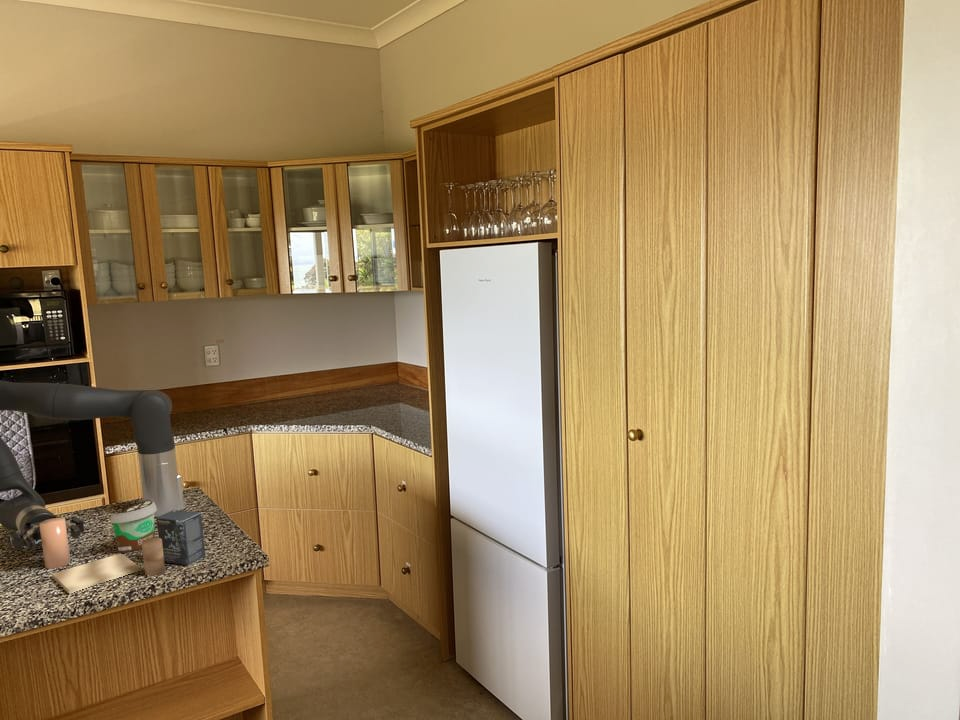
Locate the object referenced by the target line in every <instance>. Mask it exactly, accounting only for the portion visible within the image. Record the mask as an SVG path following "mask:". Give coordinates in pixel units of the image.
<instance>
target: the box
mask: <svg viewBox="0 0 960 720" xmlns="http://www.w3.org/2000/svg"><path fill="white" fill-rule="evenodd" d="M202 520H203V517H202V512H198V511H188V510H175V509H174V510H172V511H170V512H168V513H165V514H163V515H161V516H159V517H156V525H157V533H158V534H157V535H158V538H161V539H162V545H163V554H164V563H170V564H175V565H177V564H178V565H181V566H182V565H184V566H188V567H189V566H191V565H192V564H194V563H196V562H198V561H200V560H202V559H203V558H205V557H206V549H205V540H204V539H205V538H204V529H203V528H204V526H203V521H202Z"/></svg>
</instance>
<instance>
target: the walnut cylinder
mask: <svg viewBox="0 0 960 720" xmlns="http://www.w3.org/2000/svg"><path fill="white" fill-rule="evenodd" d="M141 551H142V559H143V560H142V561H143V566H144V575H145V576H146V575H149V576H148V577H156V576H159V575H162V574H164V573H165V572H166V565H165V563H166V562H164V554H163V545H162V539H161V538H159V537H155V538H151V539H147V540H145V541H143V542H142V550H141ZM155 575H156V576H155Z"/></svg>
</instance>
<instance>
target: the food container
mask: <svg viewBox="0 0 960 720" xmlns="http://www.w3.org/2000/svg"><path fill="white" fill-rule="evenodd" d="M156 510H157V508H156V505H155V503H154V502H153V500H152V499H149V498H143V497H142V502H140V503H138V504H136V505H133V506H129V507H127V508H126V509H125V510H123V511H122V512H121V513H111V514H110V524H112V526H113V530H114V531H113V532H114V536H115V541H116V546H117V551H118V554H119V553H126V554H128V553H127V552H133V553H135V552H134V551H138V552H140V551H139V550H141V551H142V542H143V541H145V540H147V539H151V538H156V537H155V536H156V535H155V517H154V512H156Z"/></svg>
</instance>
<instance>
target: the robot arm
mask: <svg viewBox="0 0 960 720" xmlns="http://www.w3.org/2000/svg"><path fill="white" fill-rule="evenodd" d="M172 410H173V403H172V399H171V397H170V396H169V395H167V394H166V393H165V392H163V391H161V390H158V389H142V390H141V389H137V390H135V389H133V390H132V389H130V390H126V389H124V390H122V389H121V390H120V389H110V388H103V387H98V386H89V385H81V384H72V383H70V384H69V383H68V384H67V383H53V382H52V383H51V382H11V381H5V380H4V381H3V380H0V411H10V412H11V411H12V412H20V413H24V414H28V415H32V416H36V417H40V418H46V419H50V420H51V419H52V420H64V421H65V420H66V421H80V420H82V421H84V420H95V419H105V418H127V419H131V423H132V431H133V438H134V442H135V445H136V450H137V459H138V466H139V467H138V468H139V475H140V483H141V492H142V499H143V498H149V499H152V500H153V502H154V503H155V505H156V508H157V510H156V512H154V518H157V517H159V516H161V515H163V514H165V513H168V512H170V511H172V510H174V509H175V510H180V511H183V510H185V502H184V492H183V482H182V481H183V480H182V476H181V475H180V474H178V472H179V470H178V462H177V453H176V443H175V438H174V436H173V431H172V423H171V413H172ZM12 490H13V491H14V490H17V491H19V492H21V494H18V495H17V496H14V497H12V498H10V499H7V500H5V501H2V502H1V503H0V525H1V526H2V527H3V528H5V529H7V530H11V531H12V532H11V531H10V532H9V540H10V545H11V546H12V548H13V550H20V549H21V548H22V547H24V548H26V549H28V550H31V551H35V550H37V544H41V545H42V540H41V533H40V525H39V524H40V523H41V522H43V521H45V520H48V519H53V518H58V516H57V515H56V514H54V513H53V512H52V511H51V510H49V509H48V508H46V503H45V500H44V499H43V498H42V496H41V495H40V494H39V493H38V492H37V491H36V490H35V489H34V488H33V487H32V485H30V483H29V482H28V480H27V479H26V478H25V475H24V474H23V472H22V471H21V467H20V466H19V463H18V461H17V459H16V457H15V455H14V452H13V451H12V450H11V448H10V447H9V445H8V444H7V443H6V442H5V440H4V439H3V438H2V437H1V436H0V493H4V492H8V491H12ZM69 518H70V519H69V520H68V521H66V520H65V522H66V530H67V536H71V537H72V538H73V539H75V540H76V539H79V538H80V536H81V535H82V534H81V533H84V532H85V525H84V520H83V519H81V518H79V517H77V516H71V517H69ZM16 531H18V532H16Z"/></svg>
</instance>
